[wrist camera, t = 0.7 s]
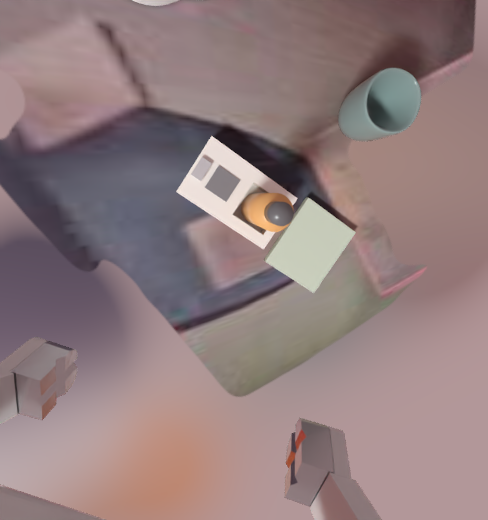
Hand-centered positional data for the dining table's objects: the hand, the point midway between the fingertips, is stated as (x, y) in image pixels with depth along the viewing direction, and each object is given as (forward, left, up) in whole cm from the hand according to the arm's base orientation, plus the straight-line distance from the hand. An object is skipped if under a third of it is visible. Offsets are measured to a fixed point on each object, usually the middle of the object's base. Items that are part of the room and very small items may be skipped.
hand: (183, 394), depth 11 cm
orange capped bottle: (-10, +5, -38) cm, 40 cm away
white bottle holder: (-10, +2, -39) cm, 41 cm away
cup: (-30, +11, -39) cm, 51 cm away
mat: (-10, +16, -39) cm, 44 cm away
